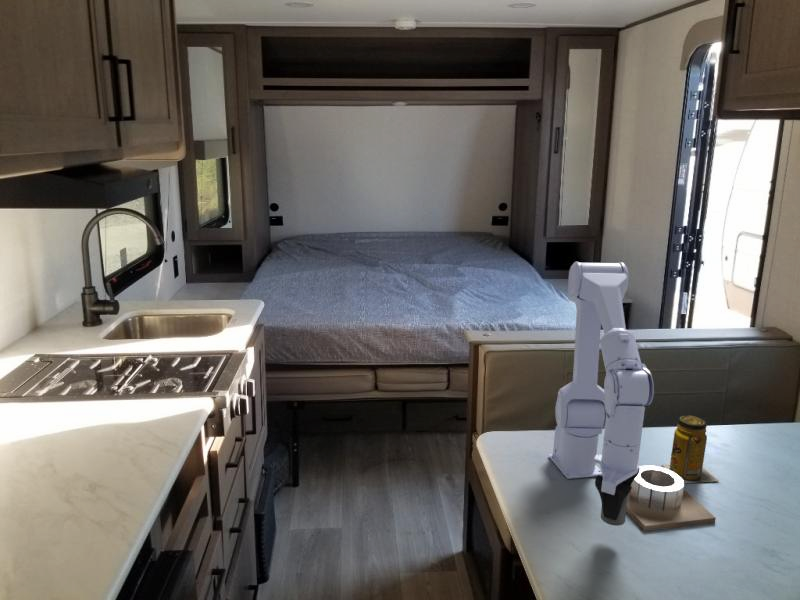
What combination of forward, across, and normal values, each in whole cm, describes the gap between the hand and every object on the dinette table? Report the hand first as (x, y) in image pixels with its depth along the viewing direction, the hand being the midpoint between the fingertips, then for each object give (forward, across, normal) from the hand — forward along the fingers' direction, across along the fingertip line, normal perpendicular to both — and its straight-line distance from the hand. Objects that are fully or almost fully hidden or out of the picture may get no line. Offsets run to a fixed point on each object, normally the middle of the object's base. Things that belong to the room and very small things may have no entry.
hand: (613, 511), depth 108 cm
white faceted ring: (+6, -16, +4) cm, 17 cm away
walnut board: (+6, -16, +4) cm, 17 cm away
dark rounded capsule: (+2, 0, 0) cm, 2 cm away
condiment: (+6, -31, +9) cm, 32 cm away
